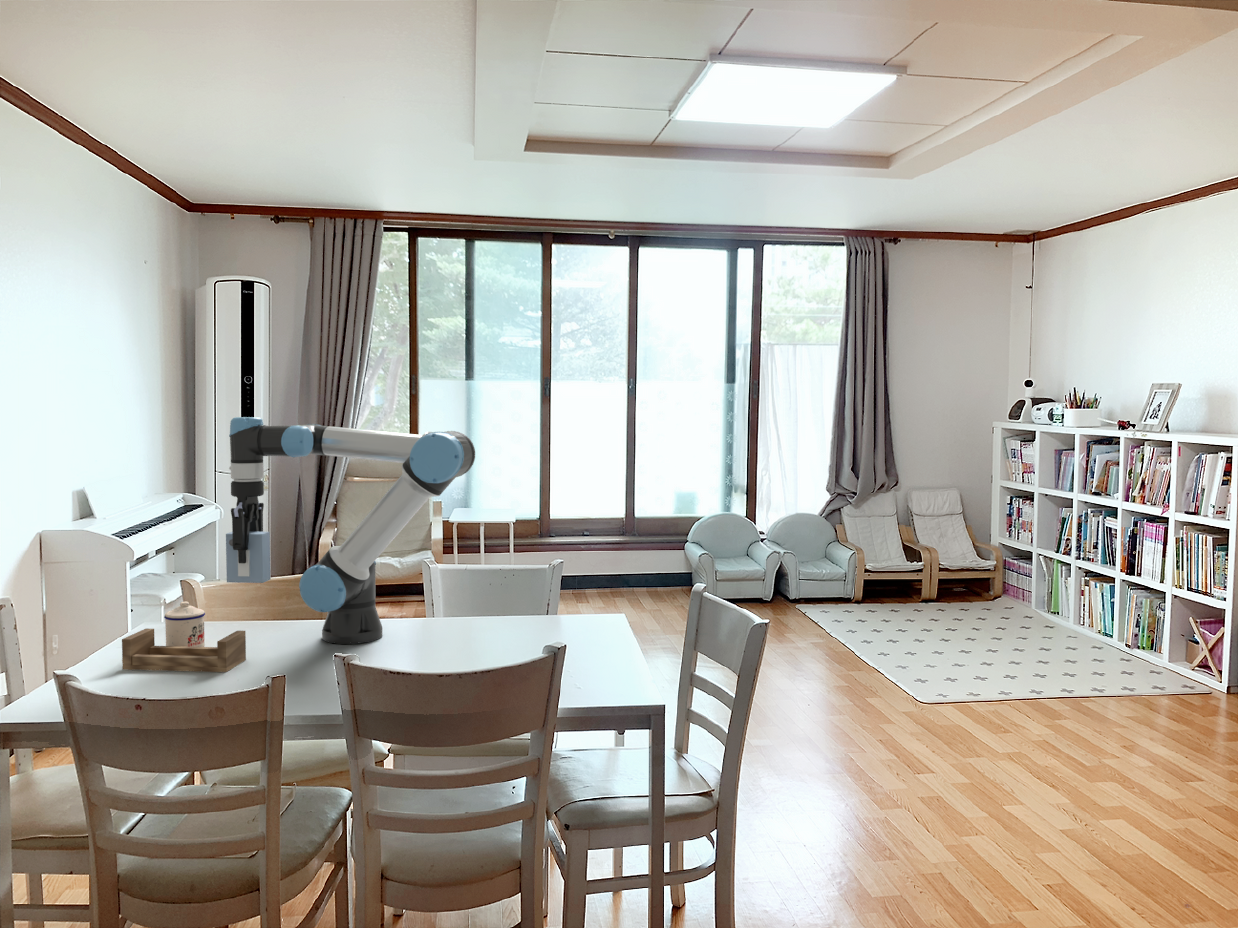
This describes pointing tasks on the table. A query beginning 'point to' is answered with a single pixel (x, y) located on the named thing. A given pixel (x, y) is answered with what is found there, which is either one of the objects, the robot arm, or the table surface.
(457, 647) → the table surface
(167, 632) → the teacup with lid
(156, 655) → the track
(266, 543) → the blue box with knob
